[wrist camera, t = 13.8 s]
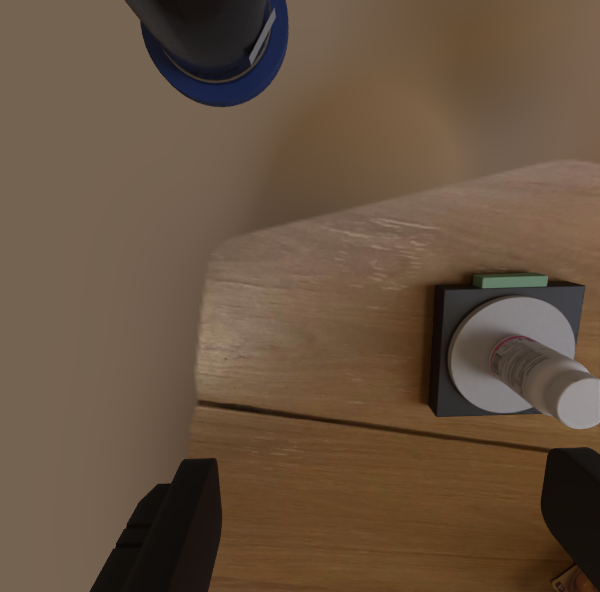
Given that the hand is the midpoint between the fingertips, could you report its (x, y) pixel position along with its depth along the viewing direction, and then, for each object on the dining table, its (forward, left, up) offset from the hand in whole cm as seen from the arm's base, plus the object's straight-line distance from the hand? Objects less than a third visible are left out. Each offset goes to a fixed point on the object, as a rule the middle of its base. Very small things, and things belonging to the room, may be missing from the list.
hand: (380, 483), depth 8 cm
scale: (+7, +18, -26) cm, 32 cm away
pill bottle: (+7, +18, -23) cm, 30 cm away
